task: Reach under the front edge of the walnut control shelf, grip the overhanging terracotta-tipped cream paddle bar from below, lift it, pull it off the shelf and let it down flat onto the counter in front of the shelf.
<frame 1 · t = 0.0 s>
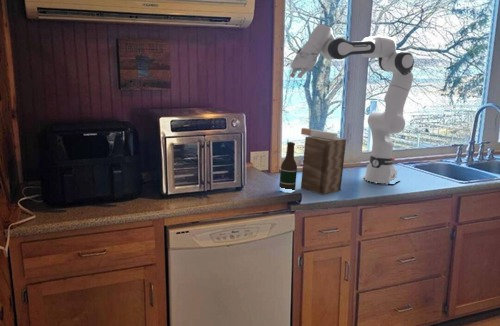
hand: (295, 77, 229), 54 cm above the worktop, tool tilted 30°, fingers open, 8 cm apart
paddle bar: (318, 136, 227), point 26 cm above the worktop, touching control shelf
control shelf: (320, 189, 229), on the worktop
beer bottle: (286, 191, 220), on the worktop
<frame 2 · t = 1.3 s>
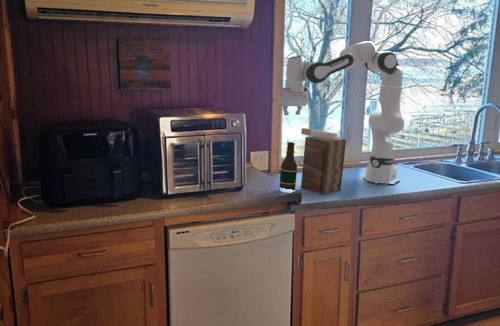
hand: (292, 114, 237), 35 cm above the worktop, tool pointing down, fingers open, 8 cm apart
nothing on the worktop moved.
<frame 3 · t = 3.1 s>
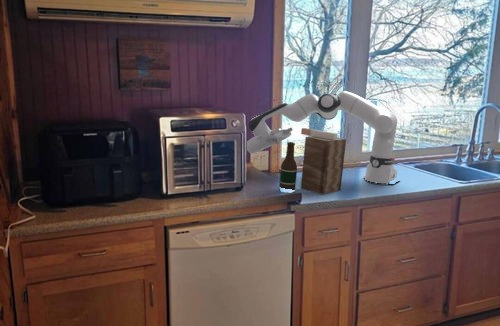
hand: (285, 129, 241), 27 cm above the worktop, tool pointing upward, fingers open, 8 cm apart
nothing on the worktop moved.
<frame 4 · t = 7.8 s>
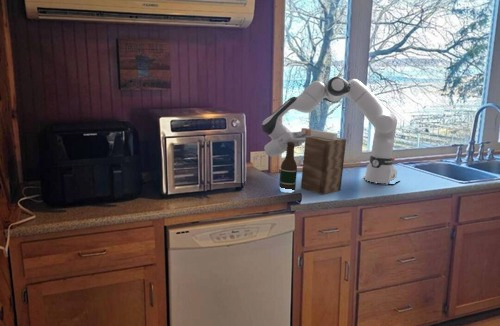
hand: (308, 131, 231), 28 cm above the worktop, tool pointing upward, fingers closed on paddle bar, 2 cm apart
paddle bar: (318, 136, 227), point 26 cm above the worktop, touching gripper
everything else where it was.
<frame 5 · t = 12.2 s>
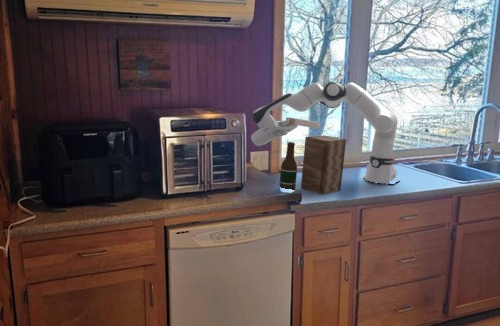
hand: (292, 120, 237), 32 cm above the worktop, tool pointing upward, fingers closed on paddle bar, 2 cm apart
paddle bar: (302, 125, 233), point 30 cm above the worktop, touching gripper
everything else where it was.
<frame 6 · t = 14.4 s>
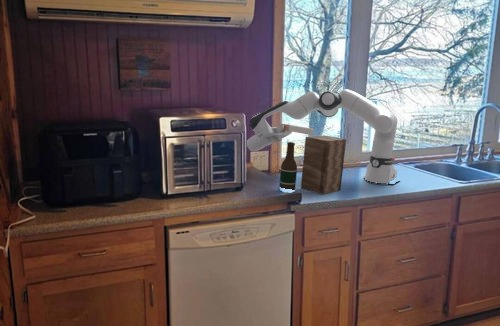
hand: (286, 126, 241), 28 cm above the worktop, tool pointing upward, fingers closed on paddle bar, 2 cm apart
paddle bar: (296, 132, 236), point 26 cm above the worktop, touching gripper
everything else where it was.
when the fingers open (21 cm above the worktop, at t = 16.5 s): paddle bar drops 20 cm, on the worktop.
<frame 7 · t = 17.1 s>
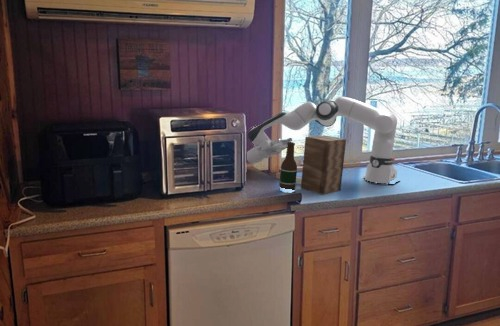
hand: (285, 139, 242), 21 cm above the worktop, tool pointing upward, fingers open, 8 cm apart
paddle bar: (291, 181, 242), on the worktop
everything else where it was.
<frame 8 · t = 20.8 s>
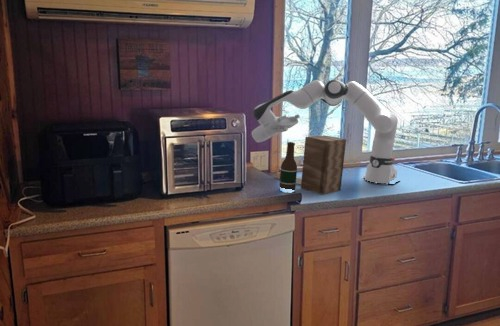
hand: (293, 115, 237), 34 cm above the worktop, tool pointing upward, fingers open, 8 cm apart
nothing on the worktop moved.
at the end: paddle bar inside the target area (1.3 cm from its centre), on the worktop; the gripper is holding nothing; paddle bar tilted 0° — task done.
